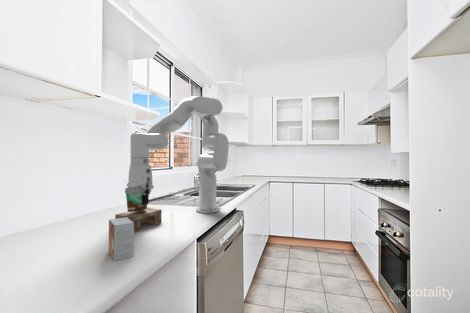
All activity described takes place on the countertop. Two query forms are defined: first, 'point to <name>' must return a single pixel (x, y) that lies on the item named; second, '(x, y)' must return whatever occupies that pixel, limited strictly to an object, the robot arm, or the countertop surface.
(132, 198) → the food container
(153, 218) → the bridge shelf
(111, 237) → the small box
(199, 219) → the countertop surface
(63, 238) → the countertop surface
